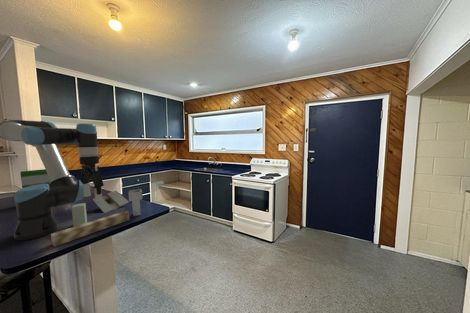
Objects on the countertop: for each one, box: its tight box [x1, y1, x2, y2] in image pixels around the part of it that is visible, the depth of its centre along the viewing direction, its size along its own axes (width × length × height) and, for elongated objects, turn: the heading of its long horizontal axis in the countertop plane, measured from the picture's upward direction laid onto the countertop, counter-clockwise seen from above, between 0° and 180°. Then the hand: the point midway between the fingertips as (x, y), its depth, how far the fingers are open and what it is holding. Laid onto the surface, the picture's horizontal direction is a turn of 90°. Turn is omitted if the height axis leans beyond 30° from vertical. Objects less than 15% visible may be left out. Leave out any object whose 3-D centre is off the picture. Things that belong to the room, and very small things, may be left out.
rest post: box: [71, 202, 88, 227], centre depth 103 cm, size 5×5×11 cm
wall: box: [92, 190, 129, 214], centre depth 131 cm, size 16×9×15 cm
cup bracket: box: [128, 188, 143, 217], centre depth 116 cm, size 7×7×14 cm
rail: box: [50, 210, 130, 248], centre depth 97 cm, size 32×4×5 cm, turn 146°
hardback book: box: [20, 168, 51, 189], centre depth 141 cm, size 18×7×24 cm, turn 137°
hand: (92, 198), depth 96 cm, fingers open, 13 cm apart
